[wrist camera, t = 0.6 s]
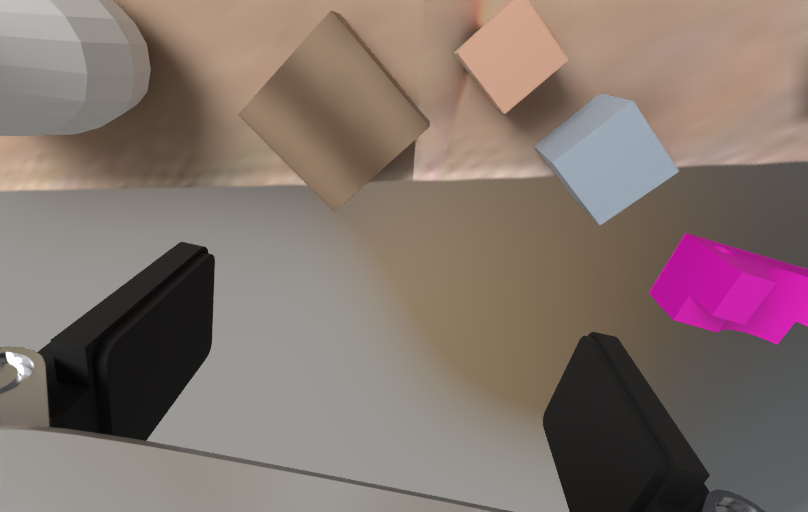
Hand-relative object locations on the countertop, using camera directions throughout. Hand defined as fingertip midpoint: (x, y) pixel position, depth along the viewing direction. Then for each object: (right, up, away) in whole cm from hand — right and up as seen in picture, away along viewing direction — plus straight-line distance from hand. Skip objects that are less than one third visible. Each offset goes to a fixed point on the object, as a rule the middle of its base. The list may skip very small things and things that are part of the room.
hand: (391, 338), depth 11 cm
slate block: (+15, +11, +24) cm, 30 cm away
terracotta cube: (+8, +17, +21) cm, 28 cm away
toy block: (+31, -1, +28) cm, 42 cm away
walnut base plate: (-5, +13, +24) cm, 27 cm away
